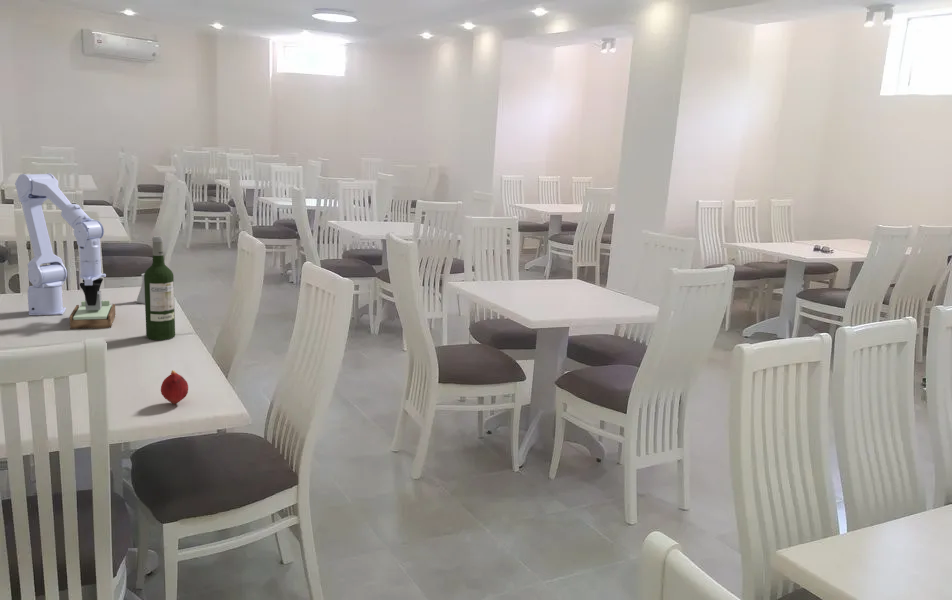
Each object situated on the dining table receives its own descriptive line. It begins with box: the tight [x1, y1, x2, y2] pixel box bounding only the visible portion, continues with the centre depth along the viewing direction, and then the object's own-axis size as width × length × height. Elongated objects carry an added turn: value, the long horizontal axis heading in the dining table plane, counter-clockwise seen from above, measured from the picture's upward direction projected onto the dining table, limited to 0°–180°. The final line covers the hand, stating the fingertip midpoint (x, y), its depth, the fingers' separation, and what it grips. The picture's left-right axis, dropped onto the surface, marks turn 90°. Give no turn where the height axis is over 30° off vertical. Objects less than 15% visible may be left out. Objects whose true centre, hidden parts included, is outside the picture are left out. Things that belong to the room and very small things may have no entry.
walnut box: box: [69, 303, 116, 330], centre depth 229 cm, size 11×15×4 cm
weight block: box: [84, 290, 103, 310], centre depth 228 cm, size 4×4×5 cm
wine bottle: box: [143, 235, 176, 341], centre depth 215 cm, size 8×8×30 cm
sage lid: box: [73, 299, 113, 320], centre depth 229 cm, size 9×15×2 cm, turn 21°
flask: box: [136, 272, 145, 305], centre depth 257 cm, size 7×7×10 cm
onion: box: [160, 370, 189, 405], centre depth 168 cm, size 6×6×8 cm
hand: (92, 303), depth 228 cm, fingers closed on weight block, 4 cm apart
